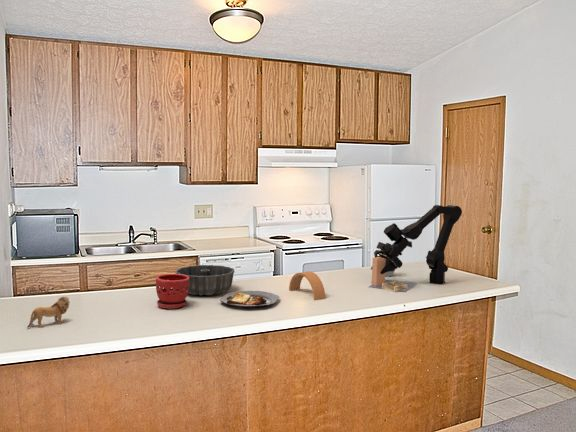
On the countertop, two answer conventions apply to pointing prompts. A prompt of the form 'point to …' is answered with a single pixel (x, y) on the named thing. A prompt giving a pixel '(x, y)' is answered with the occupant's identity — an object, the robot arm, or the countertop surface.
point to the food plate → (244, 298)
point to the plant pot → (172, 290)
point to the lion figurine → (50, 311)
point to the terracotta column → (378, 271)
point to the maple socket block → (394, 286)
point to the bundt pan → (207, 278)
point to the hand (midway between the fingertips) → (376, 271)
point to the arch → (313, 280)
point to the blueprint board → (410, 285)
